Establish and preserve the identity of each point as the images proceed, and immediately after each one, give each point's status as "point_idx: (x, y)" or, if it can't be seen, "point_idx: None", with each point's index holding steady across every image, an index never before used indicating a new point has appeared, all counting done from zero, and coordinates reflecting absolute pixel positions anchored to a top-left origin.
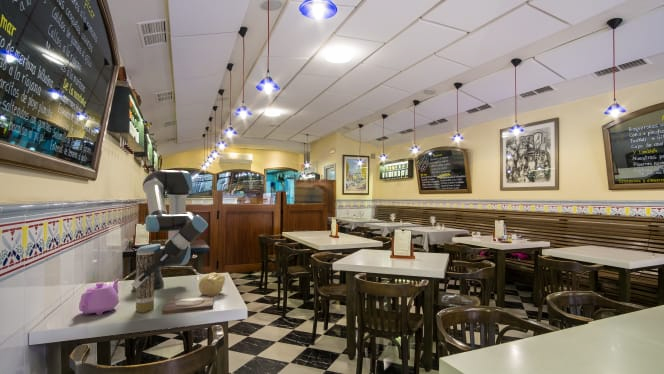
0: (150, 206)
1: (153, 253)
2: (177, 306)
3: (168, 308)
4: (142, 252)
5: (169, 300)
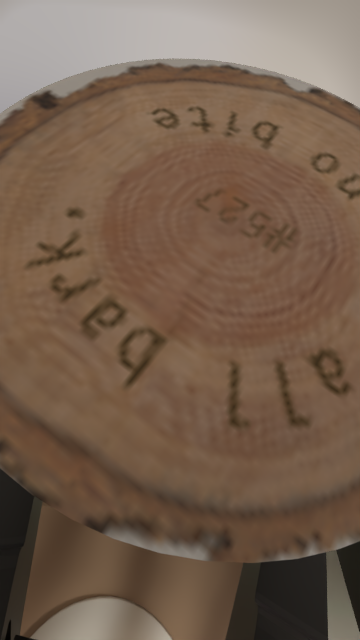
0: None
1: (71, 501)
2: (48, 609)
3: (45, 542)
4: (235, 154)
5: (225, 564)
